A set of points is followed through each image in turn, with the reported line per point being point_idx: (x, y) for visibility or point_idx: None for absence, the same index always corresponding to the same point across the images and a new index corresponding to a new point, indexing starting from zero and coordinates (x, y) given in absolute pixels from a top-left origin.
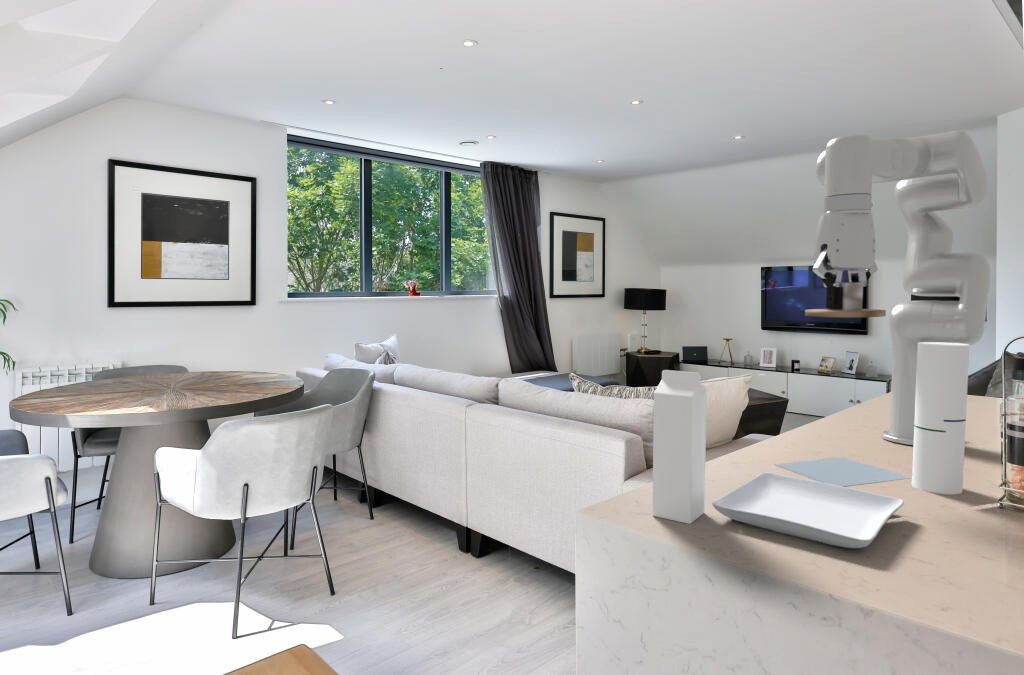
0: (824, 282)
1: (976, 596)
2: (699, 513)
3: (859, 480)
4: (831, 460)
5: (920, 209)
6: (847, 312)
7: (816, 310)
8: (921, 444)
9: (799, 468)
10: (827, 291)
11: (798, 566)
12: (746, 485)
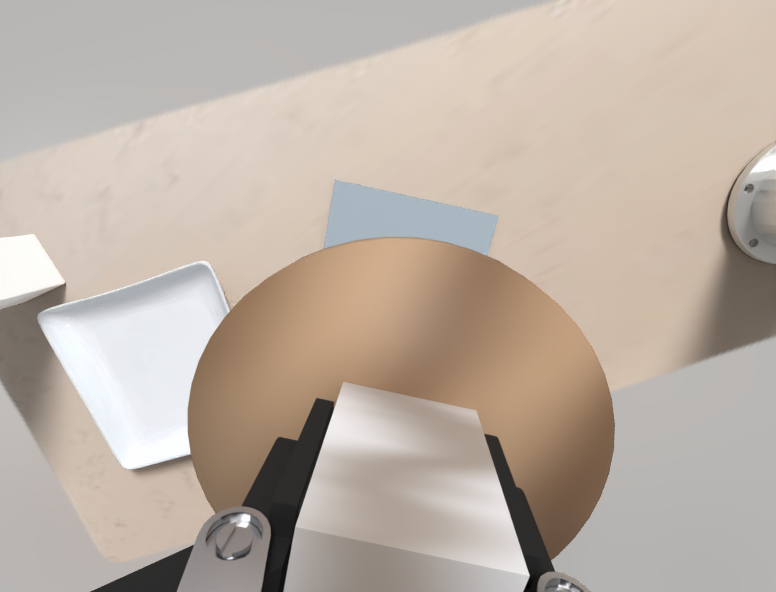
0: (163, 566)
1: (163, 528)
2: (46, 291)
3: None
4: (454, 218)
5: None
6: None
7: (250, 371)
8: None
9: (352, 222)
10: (245, 500)
11: (66, 431)
12: (133, 288)
